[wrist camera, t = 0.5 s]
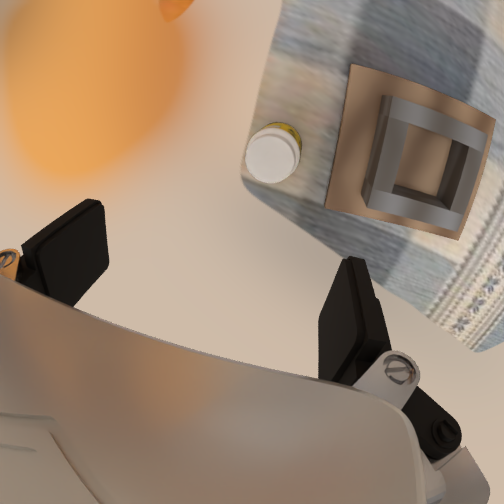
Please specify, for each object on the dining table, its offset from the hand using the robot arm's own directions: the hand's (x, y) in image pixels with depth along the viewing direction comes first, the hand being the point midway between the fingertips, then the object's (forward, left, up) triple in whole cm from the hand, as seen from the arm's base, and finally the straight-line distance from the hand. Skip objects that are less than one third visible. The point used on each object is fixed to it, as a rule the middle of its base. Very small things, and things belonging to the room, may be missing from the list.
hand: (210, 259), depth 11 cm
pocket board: (-15, -2, -23) cm, 27 cm away
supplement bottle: (0, 0, -23) cm, 23 cm away
